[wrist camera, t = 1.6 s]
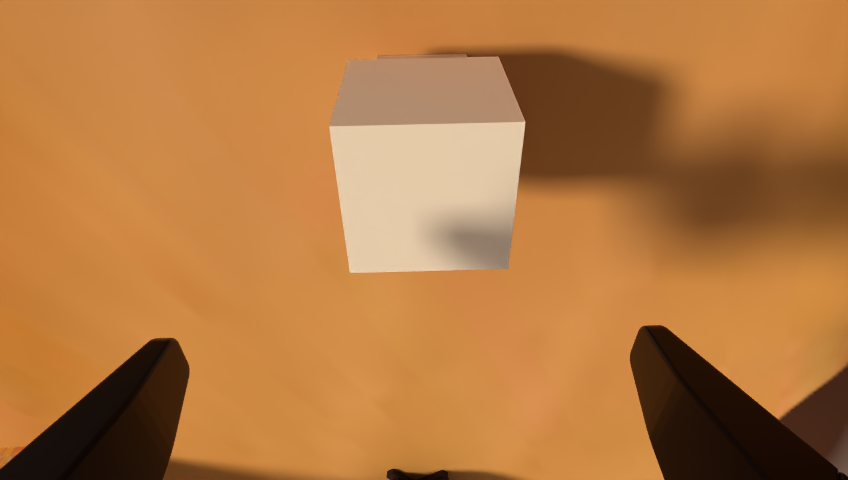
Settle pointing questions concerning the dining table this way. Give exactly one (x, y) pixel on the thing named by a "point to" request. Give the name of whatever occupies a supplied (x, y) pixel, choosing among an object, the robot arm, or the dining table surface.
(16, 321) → the dining table surface
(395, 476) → the mate gourd
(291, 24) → the dining table surface
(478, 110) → the cream block
